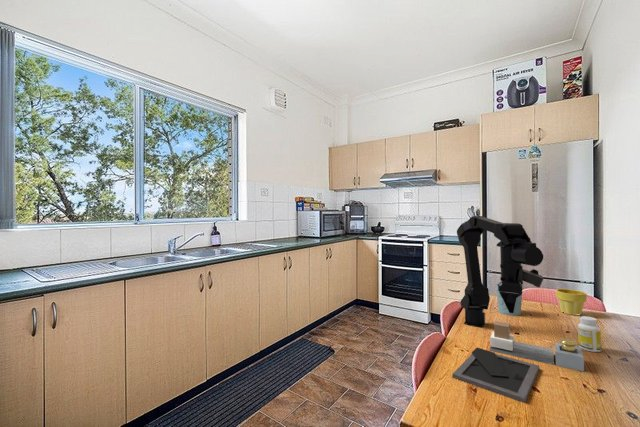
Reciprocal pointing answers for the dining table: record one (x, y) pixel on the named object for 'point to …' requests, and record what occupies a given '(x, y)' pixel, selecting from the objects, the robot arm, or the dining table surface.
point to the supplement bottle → (589, 334)
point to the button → (568, 345)
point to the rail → (532, 357)
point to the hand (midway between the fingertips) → (511, 309)
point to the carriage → (502, 336)
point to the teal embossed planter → (503, 308)
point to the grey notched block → (569, 358)
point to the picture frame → (498, 374)
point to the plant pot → (571, 300)
